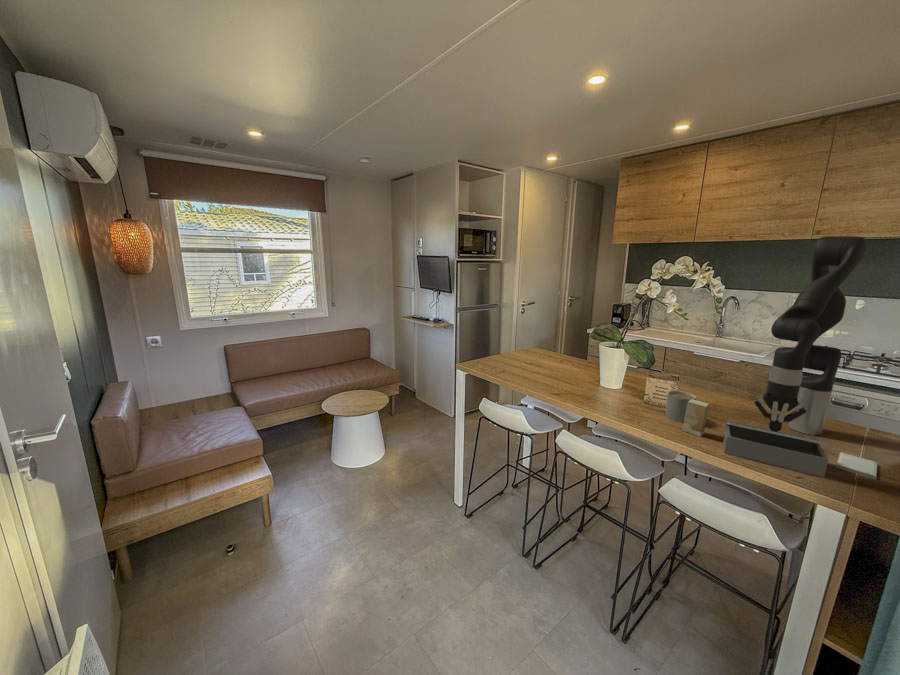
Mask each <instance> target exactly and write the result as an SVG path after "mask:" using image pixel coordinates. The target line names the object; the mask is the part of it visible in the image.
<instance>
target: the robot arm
mask: <svg viewBox="0 0 900 675" xmlns="http://www.w3.org/2000/svg"><path fill="white" fill-rule="evenodd" d="M867 243H868V242H867V238H865V237H863V236H855V235H853V236H852V235H851V236H848V235H845V236H842V235H841V236H840V235H836V236H835V235H834V236H833V235H832V236H831V235H830V236H829V235H827V236H821V237H819V238H818V239H817V240H816V242H815V244H814V246H813V250H812V257H811V272H810V273H811V274H810V275H811V276H810V283H809V284H807V285H806V286H805V287H803V289H802V290H801V291H800V292H799V294H798V295H797V297H796V299H795V301H794V302H793V303H792V305H791V306H790V307H789V308H788V309H786V310H785V311H784V312H783V313H782V314H781V315H780V316H779V317H777V318H776V320H775V321H774V322H773V323H772V325H771V334H772V336H773V337H774V338H776V339H777V340H778V339H779V340H783V341H790V342H797V344H796V345H795V346H793V347H792V346H791V347H786V346H785V347H784V346H781V347H778V348H776V349H775V351H774V355H773V360H772V366H771V368H770V370H769V374H768V379H767V385H766V390H765V393H764V395H763V396H762V398H758V399H756V398H755V399H754V400H753V402H754V405H755V406H756V408H757V409H758V410H759V412H761V414H762V415H763V417H764V418H765V419H769V422H768V430H771V431H774V432H781V431H782V430H781V429H782V426H783V423H785V422H787V423H788V428H790V429H792V430H793V431H796V432H799V433H802V434H807V435H813V436H819V435H821V434H822V433H823V430H824V425H825V422H826V417H827V413H828V409H829V405H830V400H831V396H832V393H833V389H834V388H833V387H834V382H835V378H836V374H837V372H838V368H839V365H840V362H841V359H842V351H841V349H839V348H838V347H833V346H832V347H831V346H823V345H816V344H814V343H815V342H816V341H817V339H819V338H820V337H821V336H822V335H823V334H825V333H826V332H828V331H829V330H831V329H832V328H833V327H835V326H836V325H838V324H839V323H840V322H841V321H842V319H844V314H845V309H846V305H847V300H846V296H845V295H844V293H843V292H842V290H841V289H840V288H839V287H841V285H842V284H843V283H844V282H845V281H846V280H847V278H848V277H849V276H850V274H851V273H852V272H853V271H854V270H855V269H856V267H857V266H858V265H859V264H860V262H861V261H862V259H863V257H864V255H865V253H866V251H867ZM829 266H832V267H835V268H834V269H832V270H830V269H829ZM804 369H806V370H812V371H819V372H823V373H821V374H818V375H812V376H810V375H809V376H803V370H804ZM765 404H766V406H767V407H768V409H770V412H768V411H767V410H766V408H765V407H764V406H765ZM790 411H791V412H790ZM788 412H790V413H788ZM787 413H788V414H787Z"/></svg>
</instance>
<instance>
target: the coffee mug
mask: <svg viewBox="0 0 900 675" xmlns="http://www.w3.org/2000/svg"><path fill="white" fill-rule="evenodd" d="M690 399H693V400H697V396H696V395H694V394H692V393H690V392H687V391H681V390H669V391H668V392H667V396H666V404H665V409H664V417H665V418H667V419H669V420H672V421H673V420H674V422H677V421H678V422H677V423H683V422H684V419H685V413H686V408H687V403H688V401H689V400H690Z"/></svg>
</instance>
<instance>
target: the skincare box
mask: <svg viewBox="0 0 900 675" xmlns="http://www.w3.org/2000/svg"><path fill="white" fill-rule="evenodd" d="M710 405H711V404H710V403H709V402H704V401H702V400H697V399H696V400H693V399H690V400H689V401H688V403H687V408H686V413H685V419H684V423H683V424H682V430H681V431H683V432H685V433H688V434H691V435H695V436H698V437H702V436H703V435H704V434H705V429H706V424H707V420H708V415H709V410H710Z"/></svg>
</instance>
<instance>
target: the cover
mask: <svg viewBox="0 0 900 675" xmlns="http://www.w3.org/2000/svg"><path fill="white" fill-rule="evenodd" d="M726 424H728V425H733V426H737V427H742V428H747V429H752V430H757V431H761V432H766V433H771V434H776V435H780V436H785V437H790V438H795V439H800V440H804V441H809V442H814V443H819V445H824V446H829V447H830V446H831V442H826V441H823V440H822V441H821V440H819V439H817V438H811V437H806V436H801V435H796V434H792V433H787V432H783V431H778V432H774V431H771V429H769V428H762V427H758V426H752V425H747V424H744V423H738V422H733V421H728V420H727V421H726V423H725V425H726Z"/></svg>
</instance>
